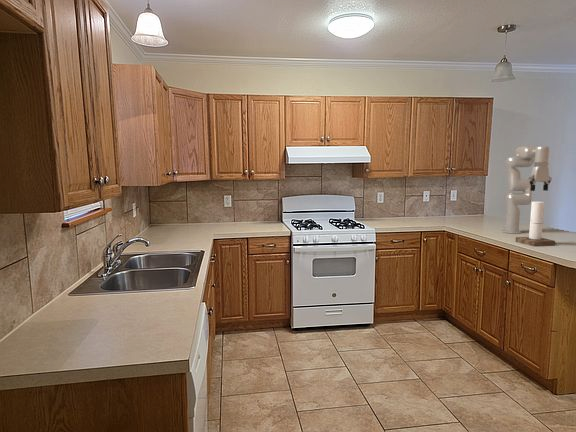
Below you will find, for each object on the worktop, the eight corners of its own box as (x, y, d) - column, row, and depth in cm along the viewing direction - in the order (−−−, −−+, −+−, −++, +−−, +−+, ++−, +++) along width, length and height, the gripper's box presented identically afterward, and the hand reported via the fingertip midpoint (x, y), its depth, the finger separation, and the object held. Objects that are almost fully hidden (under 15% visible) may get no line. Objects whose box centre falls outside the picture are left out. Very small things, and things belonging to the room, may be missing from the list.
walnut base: (515, 241, 261) (515, 236, 261) (535, 240, 264) (536, 235, 263) (533, 246, 246) (534, 241, 245) (554, 245, 248) (555, 240, 248)
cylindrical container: (536, 237, 258) (539, 201, 255) (543, 239, 251) (546, 202, 248) (526, 237, 258) (529, 201, 254) (533, 239, 251) (536, 202, 247)
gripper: (547, 165, 253) (545, 190, 255) (525, 165, 250) (523, 190, 252) (557, 164, 245) (555, 190, 247) (533, 165, 243) (531, 191, 245)
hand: (538, 190), depth 250 cm, fingers open, 9 cm apart
